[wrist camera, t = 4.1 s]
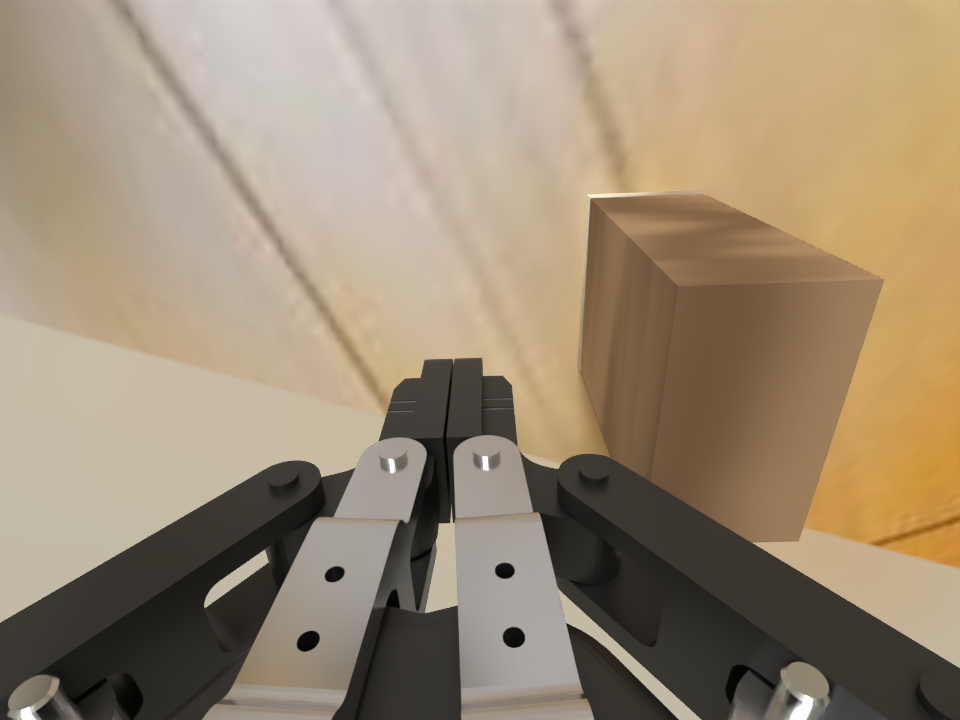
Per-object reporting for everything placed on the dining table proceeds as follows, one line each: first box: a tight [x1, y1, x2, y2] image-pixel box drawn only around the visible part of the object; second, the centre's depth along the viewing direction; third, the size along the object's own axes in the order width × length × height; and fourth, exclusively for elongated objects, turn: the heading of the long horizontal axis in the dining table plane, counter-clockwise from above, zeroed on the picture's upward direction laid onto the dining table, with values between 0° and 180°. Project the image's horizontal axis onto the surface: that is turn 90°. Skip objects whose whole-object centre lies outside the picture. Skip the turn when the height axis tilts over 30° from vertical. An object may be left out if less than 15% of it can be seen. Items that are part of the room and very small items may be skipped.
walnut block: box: [578, 190, 884, 542], centre depth 16 cm, size 4×7×10 cm, turn 2°
